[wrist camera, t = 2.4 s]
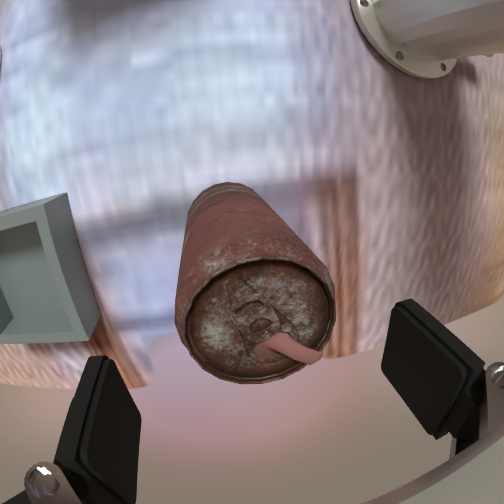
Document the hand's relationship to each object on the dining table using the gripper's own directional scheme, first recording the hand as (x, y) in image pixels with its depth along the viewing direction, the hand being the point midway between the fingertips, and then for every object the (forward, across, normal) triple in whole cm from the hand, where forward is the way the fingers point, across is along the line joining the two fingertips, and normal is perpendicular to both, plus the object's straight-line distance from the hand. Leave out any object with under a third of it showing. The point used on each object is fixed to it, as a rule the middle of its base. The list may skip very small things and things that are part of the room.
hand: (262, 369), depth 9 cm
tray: (+16, +17, 0) cm, 23 cm away
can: (+15, -1, -1) cm, 15 cm away
